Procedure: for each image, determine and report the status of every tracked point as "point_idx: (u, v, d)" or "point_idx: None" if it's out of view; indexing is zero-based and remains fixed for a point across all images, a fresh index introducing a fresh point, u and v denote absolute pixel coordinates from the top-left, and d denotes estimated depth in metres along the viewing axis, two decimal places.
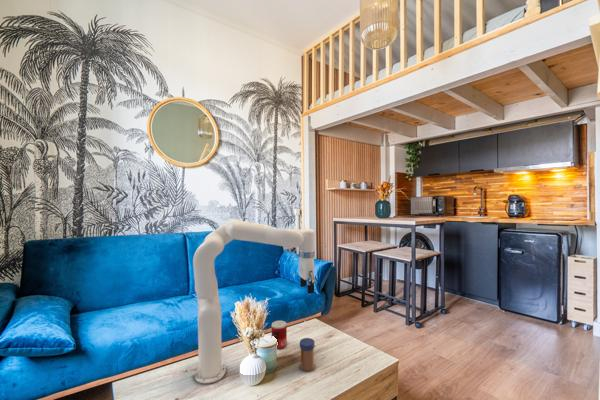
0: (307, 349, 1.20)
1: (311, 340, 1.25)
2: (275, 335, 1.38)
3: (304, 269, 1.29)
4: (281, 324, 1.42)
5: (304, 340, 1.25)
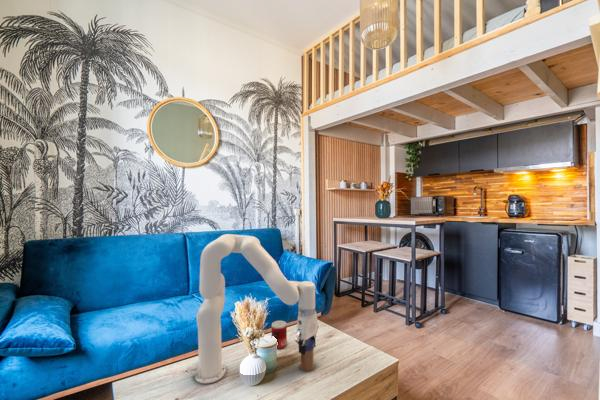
0: (307, 349, 1.20)
1: (311, 340, 1.25)
2: (275, 335, 1.38)
3: (316, 322, 1.24)
4: (281, 324, 1.42)
5: None
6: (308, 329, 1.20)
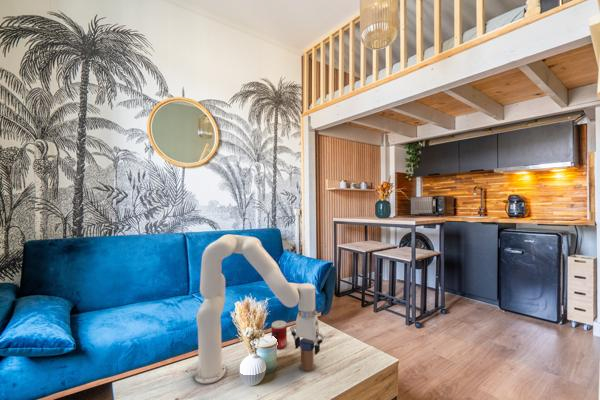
0: None
1: (302, 340, 1.25)
2: (275, 335, 1.38)
3: None
4: (281, 324, 1.42)
5: (306, 343, 1.22)
6: None
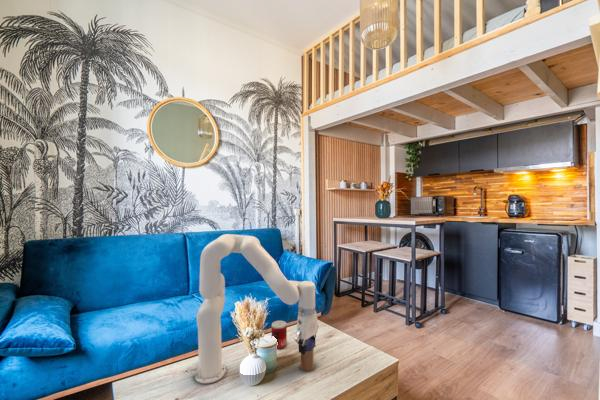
0: None
1: None
2: (275, 335, 1.38)
3: (316, 322, 1.24)
4: (281, 324, 1.42)
5: (306, 343, 1.22)
6: (308, 329, 1.20)
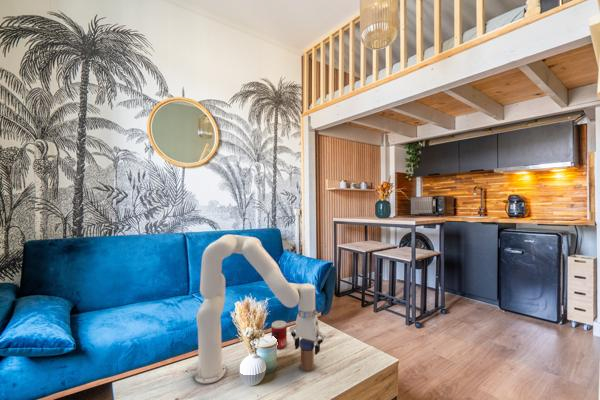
0: None
1: (308, 343, 1.21)
2: (275, 335, 1.38)
3: None
4: (281, 324, 1.42)
5: (310, 340, 1.24)
6: None
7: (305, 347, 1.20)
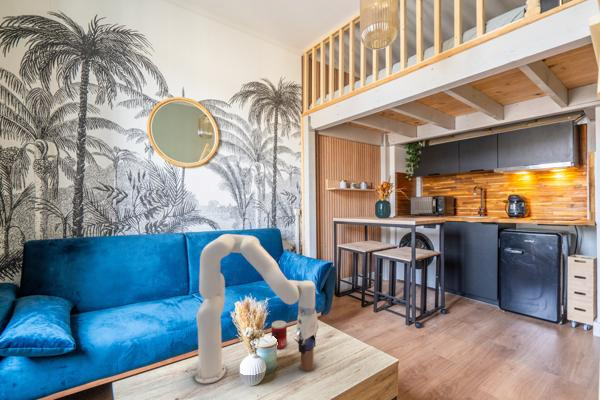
0: None
1: (308, 343, 1.21)
2: (275, 335, 1.38)
3: (316, 321, 1.24)
4: (281, 324, 1.42)
5: (310, 340, 1.24)
6: (308, 328, 1.20)
7: (305, 347, 1.20)
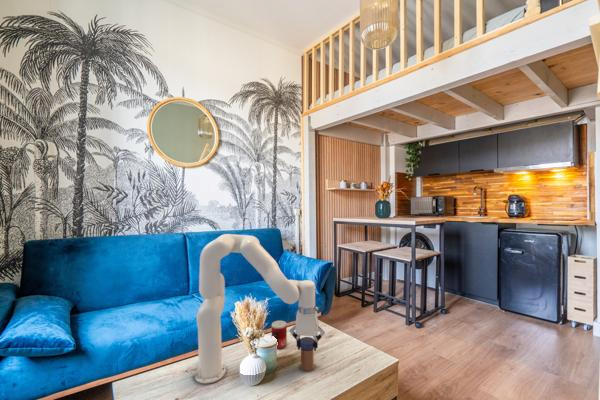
0: (309, 348, 1.20)
1: (310, 338, 1.25)
2: (275, 335, 1.38)
3: None
4: (281, 324, 1.42)
5: (303, 339, 1.24)
6: None
7: None
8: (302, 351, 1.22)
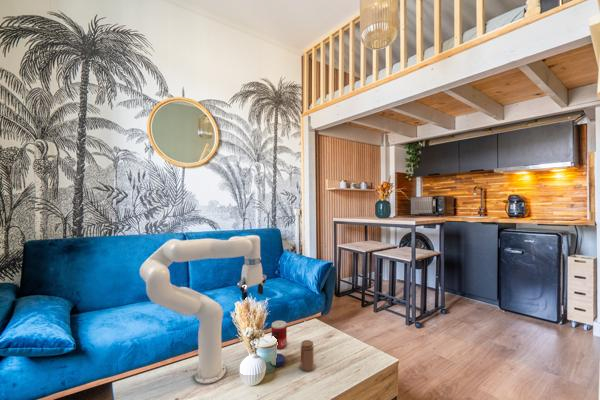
0: None
1: (277, 354, 1.30)
2: (275, 335, 1.38)
3: None
4: (281, 324, 1.42)
5: None
6: None
7: None
8: (302, 351, 1.22)
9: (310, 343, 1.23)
